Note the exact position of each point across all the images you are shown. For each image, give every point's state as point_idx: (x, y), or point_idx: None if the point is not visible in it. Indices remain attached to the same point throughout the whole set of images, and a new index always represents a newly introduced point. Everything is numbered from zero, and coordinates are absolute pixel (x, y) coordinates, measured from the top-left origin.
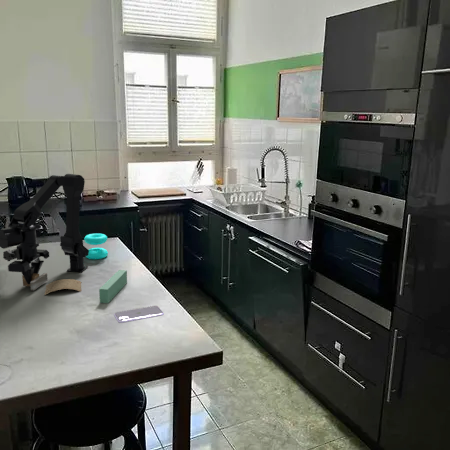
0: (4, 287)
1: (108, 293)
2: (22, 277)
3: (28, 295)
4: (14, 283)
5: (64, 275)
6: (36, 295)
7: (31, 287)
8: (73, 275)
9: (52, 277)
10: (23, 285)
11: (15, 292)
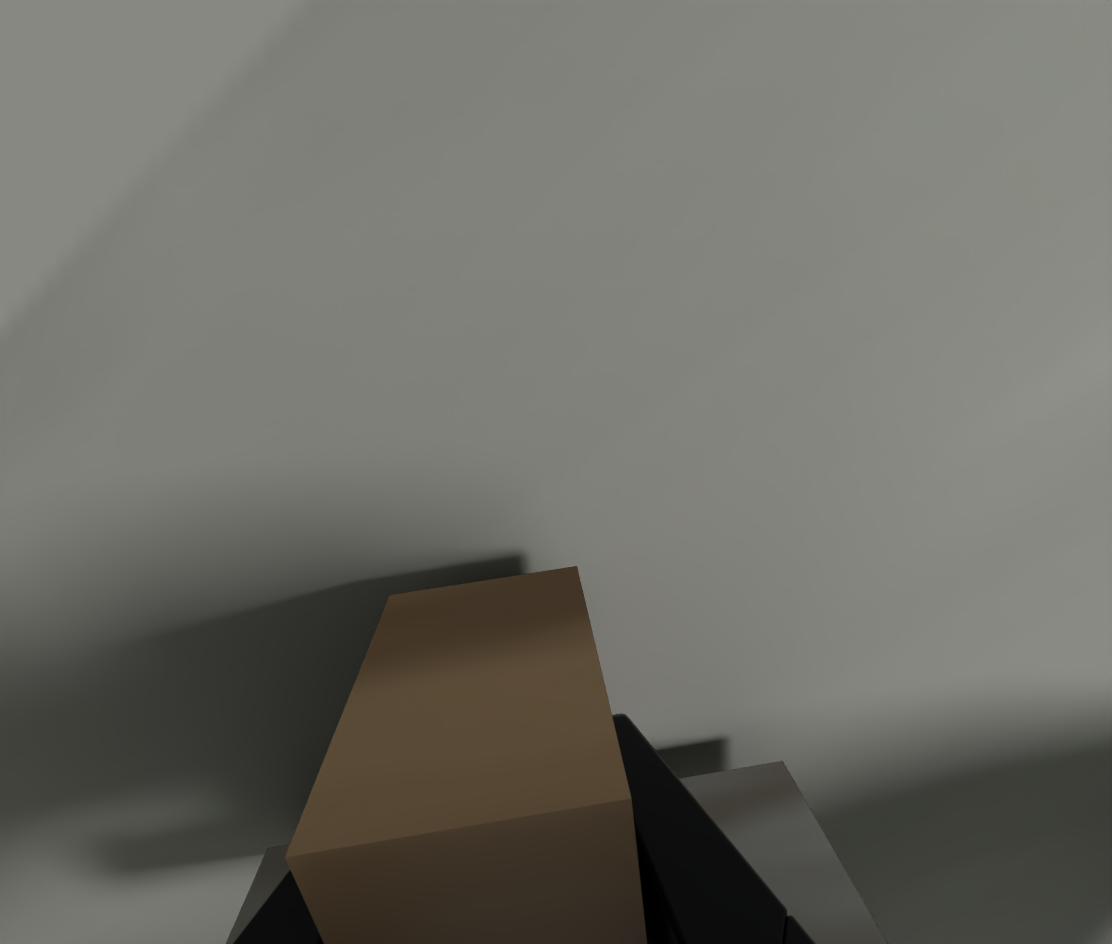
0: (207, 104)
1: None
2: (319, 782)
3: (149, 858)
4: (564, 177)
5: (1106, 791)
6: (218, 937)
7: (244, 926)
8: (1097, 883)
9: (1015, 695)
10: (390, 609)
11: (118, 597)
